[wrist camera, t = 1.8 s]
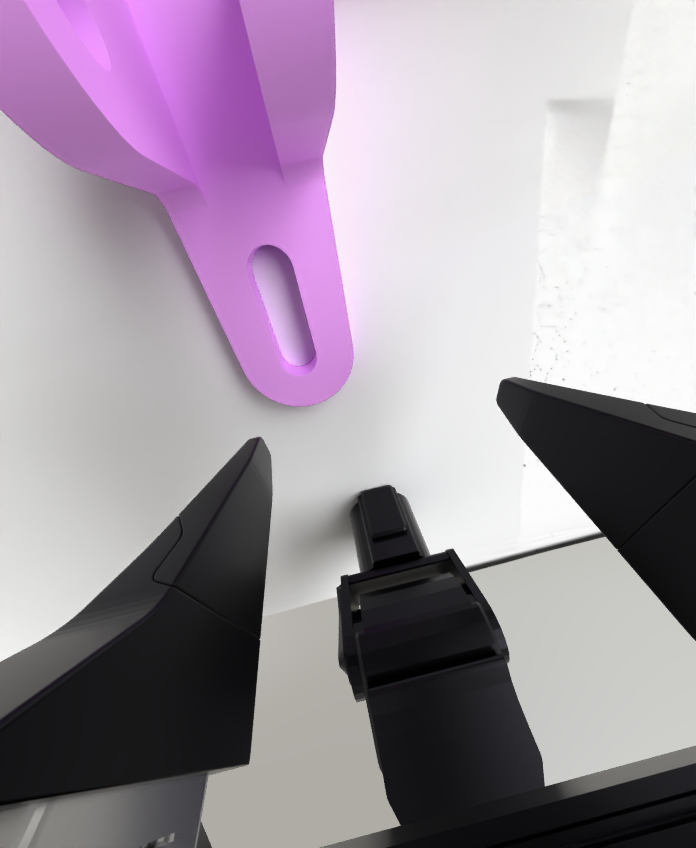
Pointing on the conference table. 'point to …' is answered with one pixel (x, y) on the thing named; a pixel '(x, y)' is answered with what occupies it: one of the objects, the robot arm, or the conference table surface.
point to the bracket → (202, 145)
